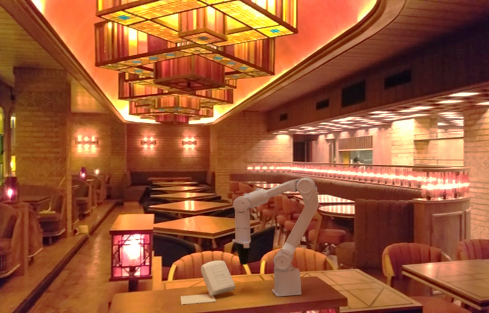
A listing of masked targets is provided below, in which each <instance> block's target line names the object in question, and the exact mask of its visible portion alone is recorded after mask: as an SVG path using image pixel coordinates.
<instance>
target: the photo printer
mask: <svg viewBox="0 0 489 313" xmlns="http://www.w3.org/2000/svg"><path fill="white" fill-rule="evenodd" d="M200 273H201V276H202V279H203V281H204V283H205V284H204V285H205V286H206V288H207V292H208V294H210V296H214V297H215V296H216V295H221V294H224V293H227V292H231V291H233V290H235V288H236V285H235V284H236V283H235V281H234V280H233V277H232V275H231V272H230V270H229V268H228V266H227V263H226V262H225V261H224V260H212V261H209V262H208V261H207V262H206V263H204V264H202V265H201V267H200Z"/></svg>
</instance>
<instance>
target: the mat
mask: <svg viewBox="0 0 489 313" xmlns="http://www.w3.org/2000/svg"><path fill="white" fill-rule="evenodd" d="M180 297H181V298H180ZM180 297H179V298H180V303H181V304H180V305H181V306H183V304H186V305H196V304H197V303H198V304H206V303H207V304H209V303H210V304H211V303H216V302H217V300H216V298H215V295H214V296H210V294H209V293H205V294H203V293H202V294H193V295H191V294H190V295H181V296H180ZM198 304H197V305H198Z"/></svg>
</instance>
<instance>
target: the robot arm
mask: <svg viewBox="0 0 489 313" xmlns="http://www.w3.org/2000/svg"><path fill="white" fill-rule="evenodd" d="M288 192H291V193H297V192H298V194H299V195H300V196H301V197H302V200H303V202H304V206H303V209H302V211H301V213H300V214H299V216H298V219H297V220H296V222H295V224H294V226H293V228H292V230H291V232H290V234H289V235H288V237H287V239H286V241H285V243H284V244H283V247H282V248H280V249H279V250H278V251H277V253H276V255H275V256H274V257H273V266H274V267H273V276H274V279H273V280H274V288H272V289H271V292H272V293H273V294H274V295H275V296H276V297H285V296H286V297H287V296H289V297H290V296H298V295H300V296H301V295H303V294H302V280H301V271H300V269H299V268H298V267H294V266H293V264H292V262H293V259H294V253H295V251H296V250H297V247H298V246H299V244H300V242H301V240H302V238H303V236H304V234H305V233H306V231H307V229H308V227H309V225H310V223H311V222H312V219H313V218H314V216H315V214H316V212H317V210H318V208H319V206H320V204H319V194H318V187H317V185H316V183H315V181H314V179H312V177H307V176H304V177H301V178H297V179H292V180H288V181H285V182H283V183H280V184H279V185H277V186H273V187H272V188H269V189H264V188H262V187H261V188H259V187H258V188H255V190H253V191H251V192H249V193H247V192H246V193H244V194H243V195H241V196H238V197H236V198H235V199H234V200H233V204H232V207H233V209H234V214H235V216H234V231H235V232H234V233H235V234H234V235H235V239H234V238H233V239H232V243H236V244H234V247H235V249H236V252H237V255H238V256H237V257H238V261H239V264H240V266H247V265H248V260H249V255H250V252H251V250H252V245H250V243H252V242H251V241H252V238H251V215H250V209H253V208H257V207H259V206H262V205H264V204H267V203H268V202H269V201H270V199H271V198H273V197H276V196H279V195H281V194H285V193H288Z"/></svg>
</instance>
